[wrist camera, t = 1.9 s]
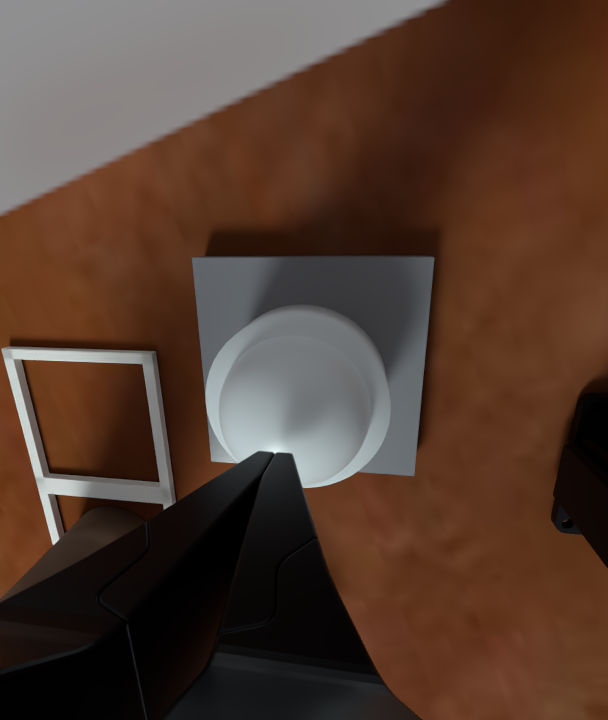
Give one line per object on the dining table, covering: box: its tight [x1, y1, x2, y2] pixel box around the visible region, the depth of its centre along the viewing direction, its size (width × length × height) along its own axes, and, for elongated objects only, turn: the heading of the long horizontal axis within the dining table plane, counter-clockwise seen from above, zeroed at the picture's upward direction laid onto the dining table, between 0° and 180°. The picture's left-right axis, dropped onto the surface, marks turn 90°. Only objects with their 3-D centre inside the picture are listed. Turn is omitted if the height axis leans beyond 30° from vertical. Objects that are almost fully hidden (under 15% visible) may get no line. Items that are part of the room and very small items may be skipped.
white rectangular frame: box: [2, 346, 176, 545], centre depth 20 cm, size 8×15×1 cm, turn 0°
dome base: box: [192, 256, 434, 476], centre depth 16 cm, size 9×9×1 cm
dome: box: [205, 304, 391, 488], centre depth 12 cm, size 6×6×5 cm
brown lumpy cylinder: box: [0, 506, 145, 602], centre depth 15 cm, size 5×5×13 cm
